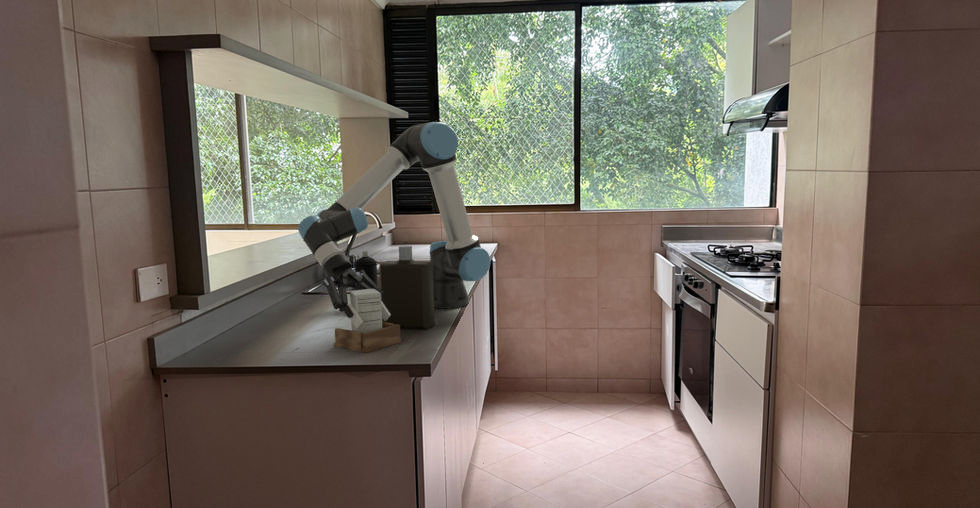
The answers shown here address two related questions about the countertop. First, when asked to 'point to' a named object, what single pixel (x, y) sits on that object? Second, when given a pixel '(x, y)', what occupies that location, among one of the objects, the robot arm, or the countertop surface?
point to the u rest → (368, 338)
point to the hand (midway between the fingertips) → (374, 321)
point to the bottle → (408, 291)
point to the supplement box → (367, 309)
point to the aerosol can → (367, 266)
